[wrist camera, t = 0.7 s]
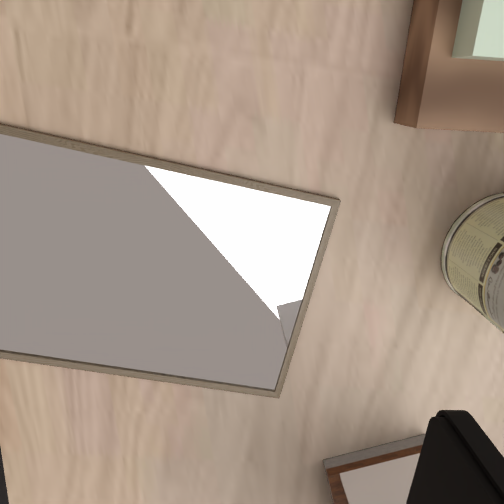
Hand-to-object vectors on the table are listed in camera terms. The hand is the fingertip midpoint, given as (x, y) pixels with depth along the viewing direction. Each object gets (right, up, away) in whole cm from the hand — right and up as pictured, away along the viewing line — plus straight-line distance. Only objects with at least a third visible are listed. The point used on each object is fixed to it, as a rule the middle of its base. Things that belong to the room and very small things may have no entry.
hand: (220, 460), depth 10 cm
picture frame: (-8, +3, +28) cm, 29 cm away
